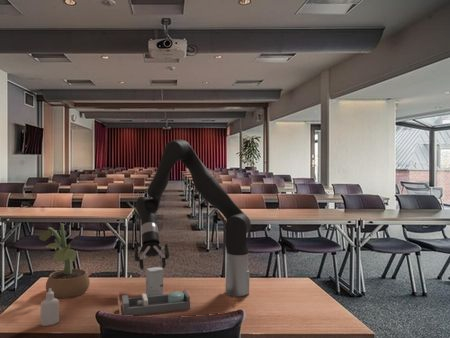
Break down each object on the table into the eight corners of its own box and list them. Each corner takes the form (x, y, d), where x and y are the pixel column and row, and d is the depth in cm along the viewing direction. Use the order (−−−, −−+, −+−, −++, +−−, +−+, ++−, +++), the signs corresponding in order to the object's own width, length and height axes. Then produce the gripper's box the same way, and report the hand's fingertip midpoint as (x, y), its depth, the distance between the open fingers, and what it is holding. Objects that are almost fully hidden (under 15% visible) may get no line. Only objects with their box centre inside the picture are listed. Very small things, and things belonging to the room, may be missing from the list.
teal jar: (182, 301, 150) (182, 290, 150) (185, 306, 144) (185, 296, 144) (166, 302, 148) (166, 292, 148) (169, 308, 142) (169, 298, 142)
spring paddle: (145, 303, 146) (145, 293, 146) (147, 311, 139) (148, 300, 139) (136, 304, 145) (136, 294, 145) (138, 312, 138) (138, 301, 138)
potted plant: (52, 285, 167) (51, 216, 166) (94, 284, 169) (94, 216, 167) (29, 305, 145) (29, 226, 143) (78, 305, 146) (79, 227, 145)
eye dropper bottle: (43, 320, 132) (43, 286, 132) (60, 320, 133) (60, 286, 133) (38, 326, 128) (38, 291, 128) (56, 326, 129) (56, 290, 128)
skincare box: (149, 301, 151) (149, 271, 150) (145, 298, 155) (145, 268, 154) (163, 298, 154) (164, 269, 154) (159, 295, 158) (159, 266, 157)
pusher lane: (184, 301, 152) (184, 288, 152) (190, 311, 143) (190, 298, 142) (121, 307, 145) (121, 294, 145) (123, 318, 135) (123, 304, 135)
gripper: (134, 231, 164) (136, 265, 154) (167, 229, 169) (171, 262, 158) (132, 240, 170) (134, 274, 159) (165, 238, 174) (169, 271, 164)
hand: (153, 268), depth 159 cm, fingers open, 8 cm apart
